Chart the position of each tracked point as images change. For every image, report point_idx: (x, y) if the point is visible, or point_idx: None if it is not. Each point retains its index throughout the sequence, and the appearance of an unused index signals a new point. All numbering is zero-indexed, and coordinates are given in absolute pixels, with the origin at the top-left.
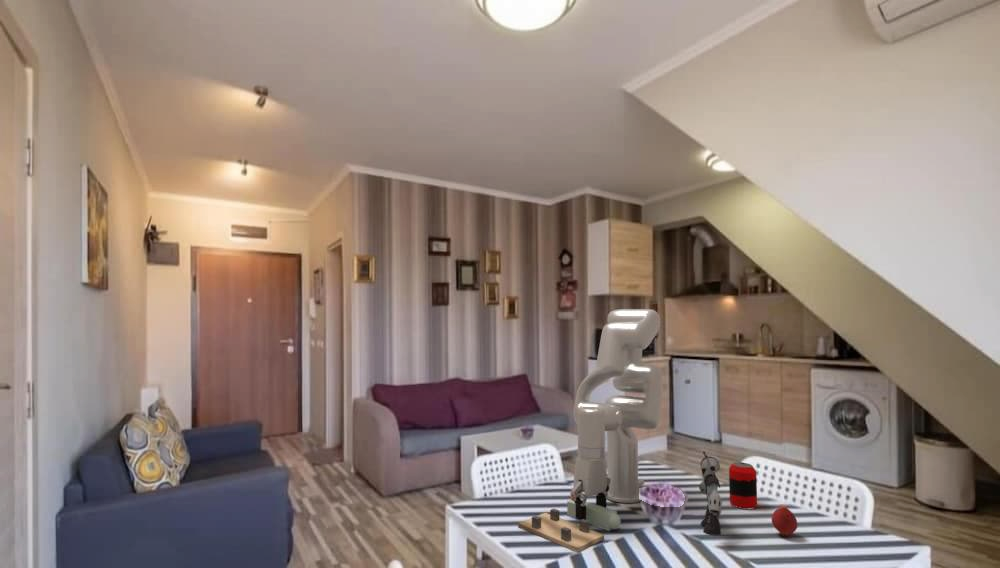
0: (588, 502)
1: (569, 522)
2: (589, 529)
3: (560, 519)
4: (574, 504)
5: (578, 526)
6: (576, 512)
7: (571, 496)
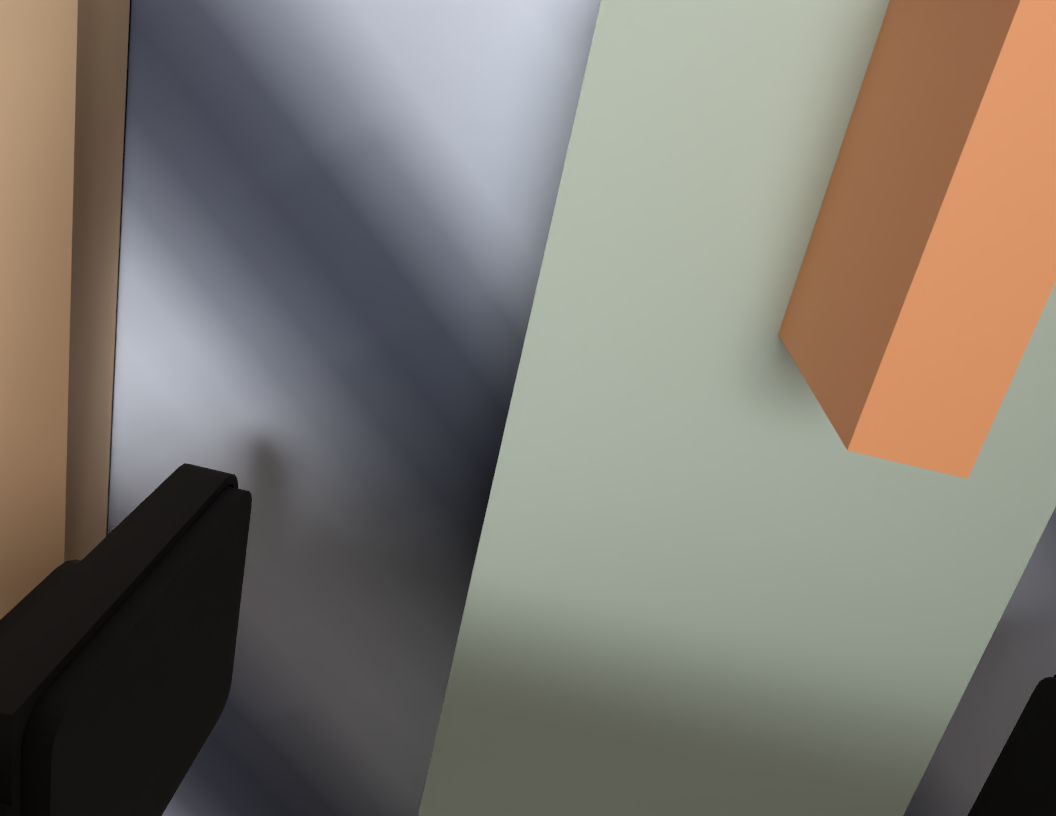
0: (938, 682)
1: (37, 350)
2: None
3: (20, 68)
4: (532, 318)
5: (9, 588)
6: (22, 603)
7: (943, 8)
